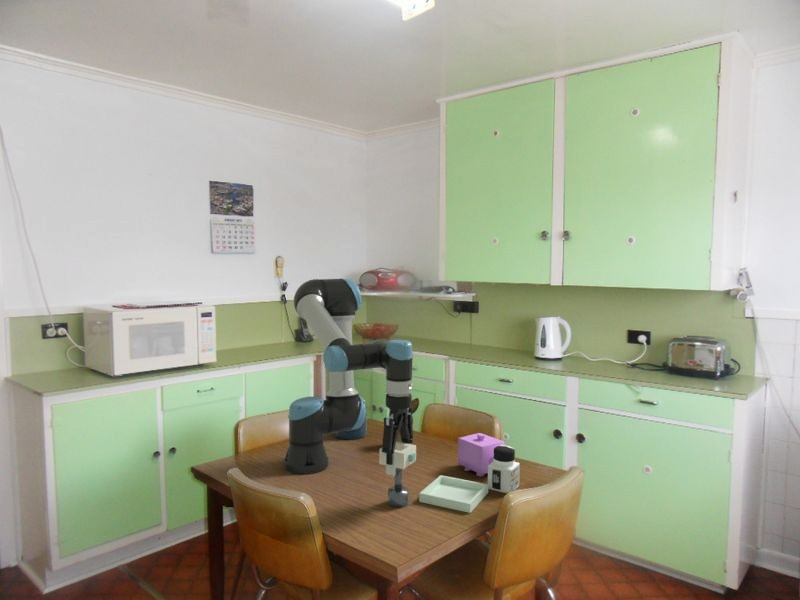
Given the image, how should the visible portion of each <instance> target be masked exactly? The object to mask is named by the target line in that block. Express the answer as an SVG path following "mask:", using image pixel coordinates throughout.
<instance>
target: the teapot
mask: <svg viewBox="0 0 800 600" xmlns="http://www.w3.org/2000/svg"><path fill="white" fill-rule="evenodd" d="M501 445H505V441H503V440H501V439H498V438H496V437H492V436H490V435H487V434H484V433H481V432H478V433H477V432H476V433H473V434H469V435H466V436H462V437H461V436H460V437H458V439H457V464H458V465H460V466H461V467H464V468H463V470H464V472H465V471H466V472H469V471H470V472H471V471H473V472H475V473H476V475H475V476H477V477H482V478H483V477H484V476H485V475H486V474H488V465H489V464H491V463H492V462H493V461H494V448H495V447H497V446H501Z"/></svg>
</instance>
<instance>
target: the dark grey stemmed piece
mask: <svg viewBox="0 0 800 600" xmlns="http://www.w3.org/2000/svg"><path fill="white" fill-rule="evenodd" d="M387 504H388V506H390V507H391V508H395V509H398V508H399V509H401V508H405V507H407V506H408V505H409V489H408V488H407V487H405V486H403V469H401V468H396V473H395V476H394V486H391V487H389V488H388V489H387Z"/></svg>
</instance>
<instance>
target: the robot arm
mask: <svg viewBox="0 0 800 600" xmlns="http://www.w3.org/2000/svg"><path fill="white" fill-rule="evenodd" d="M361 305H362V294H361V291H360V287H359V286H358V285H357V283H356V281H354V280H352V279H351V278H350V279H348V278H327V279H325V278H322V279H319V278H316V279H315V278H313V279H309V280H306V281H305V282H303V283H302V284H300V286H299V287H298V288H297V289H296V291H295V294H294V296H293V306H294V307H293V308H294V310H295V312H296V313H297V315H298V317H299V318H301V319H303V320H305V321H306V324H307V325H308V327H309V329H310V330H311V331H312V333H313V334H314V336H315V337H316V339H317V341H318V343H319V344H320V345H321V347H322V348H323V350H324V351H323V354H322V355H323V356H322V360H323V364H324V367H325V368H324V369H326V370H327V371H328V372H329V390H328V391H327V392H326V393H325V399H324V398H323V397H321V396H318V395H315V396H304V397H301V398H298V399H296V400H294V401H292V402H291V403H290V405H289V409H288V411H289V412H288V436H289V437H288V443H289V444H288V448H287V451H286V455H285V458H284V461H283V463H284V465H283V466H284V467H283V468H284V470H286V471H287V472H289V473H291V474H300V475H306V474H307V475H308V474H309V475H310V474H313V473H314V474H315V473H319V472H322V471H324V470H326V469H327V468H328V467H329V457H328V454H327V450H326V447H325V445H324V436H325V435H329V434H334V433H335V434H336V432H342V431H350V430H354V429H358V428H359V427H361V425H362V424H363V422H364V419H365V413H367V408H366V407H365V405H366V404H365V402H364V400H365V399H364V398H363V397H362V396H360V394H359V391H358V390H357V389H356V388H355V378H354V377H355V374H354V372H355V371H358V370H369V369H378V368H379V369H381V368H382V369H385V392H386V394H385V406H386V408H387V409H389V414H388V417H384V418H383V434H382V435H383V437H382V444H381V448H382V452H383V453H386V465H385V474H386V475H388V476H393V477H395V473H396V453H394V450H395V445H396V440H397V435H398V431H400V436H401V440H402V442H403V443H406V444H409V443H410V444H411V445H413V442H414V440H413V439H414V429H413V426H412V417H413V414H412V408H410V407H411V405H412V400H413V399H412V396H413V395H412V394H411V393H412V390H413V389H412V387H413V386H414V385H413V382H412V381H413V378H412V377H413V356H414V354H413V344H412V342H411V341H410V340H408V339H405V340H404V339H391V340H388V341H387V342H386V341H384V340H373V341H371V342H370V343H357V344H353V328H352V327H353V326H352V325H353V324H352V322H353V320H354V318H355V317H356V312H357V311H360V309H361V307H362V306H361ZM363 399H364V400H363ZM395 426H397V427H395Z"/></svg>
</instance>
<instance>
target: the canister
mask: <svg viewBox="0 0 800 600" xmlns="http://www.w3.org/2000/svg"><path fill="white" fill-rule="evenodd" d="M363 400H364V403H366V400H365V398H363ZM365 407H366V409H367V408H368V406H367V404H365ZM367 418H368V414H367V412H366V413H365V419H364V422H363V424H362V425H361V427H359V428H358V429H354V430H350V431H342V432H336V433H335V437H337V438H338V439H342V440H359V439H363V438H365V437H366V436H367V433H368V425H367V423H368V421H367V420H368V419H367Z"/></svg>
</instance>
